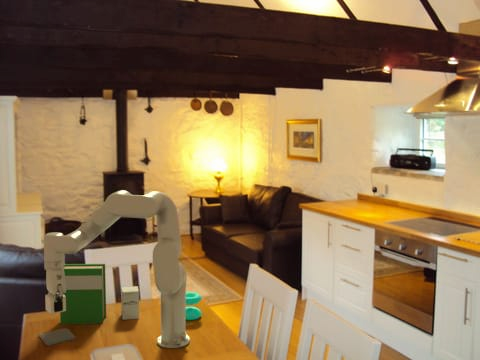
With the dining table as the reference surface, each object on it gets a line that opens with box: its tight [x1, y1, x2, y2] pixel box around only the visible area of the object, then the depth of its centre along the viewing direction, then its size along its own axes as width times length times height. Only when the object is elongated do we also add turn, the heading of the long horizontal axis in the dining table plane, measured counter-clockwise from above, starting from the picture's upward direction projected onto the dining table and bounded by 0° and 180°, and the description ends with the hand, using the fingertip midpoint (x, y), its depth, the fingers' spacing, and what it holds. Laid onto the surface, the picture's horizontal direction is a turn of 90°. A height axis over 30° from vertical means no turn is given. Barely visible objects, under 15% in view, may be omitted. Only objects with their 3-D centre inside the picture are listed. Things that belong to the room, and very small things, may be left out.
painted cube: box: [44, 292, 66, 315], centre depth 198 cm, size 6×6×6 cm
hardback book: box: [59, 263, 107, 325], centre depth 216 cm, size 18×7×24 cm, turn 94°
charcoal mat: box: [38, 327, 77, 347], centre depth 199 cm, size 11×11×1 cm
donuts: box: [185, 291, 202, 321], centre depth 222 cm, size 10×10×10 cm
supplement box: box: [120, 285, 140, 321], centre depth 221 cm, size 7×7×13 cm
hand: (55, 308), depth 198 cm, fingers closed on painted cube, 6 cm apart
